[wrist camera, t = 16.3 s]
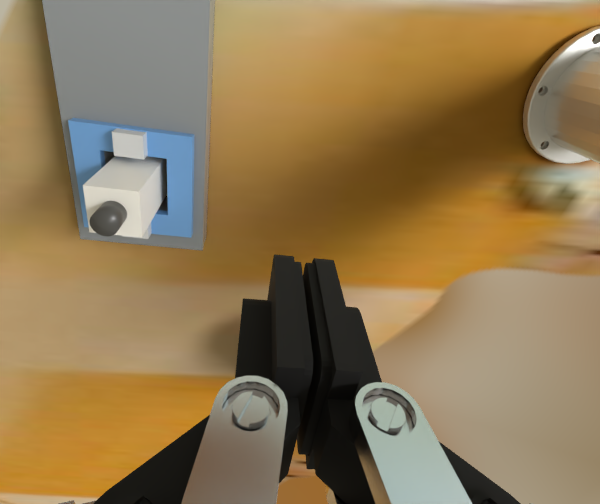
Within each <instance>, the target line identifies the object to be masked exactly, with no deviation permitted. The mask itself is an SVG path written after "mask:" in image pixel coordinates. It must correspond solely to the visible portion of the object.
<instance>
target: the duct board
mask: <svg viewBox="0 0 600 504" xmlns="http://www.w3.org/2000/svg"><path fill="white" fill-rule="evenodd" d="M42 3H43V10H44V16H45V22H46V28H47V34H48V41H49V47H50V53H51V59H52V65H53V72H54V78H55V84H56V90H57V97H58V103H59V109H60V115H61V121H62V128H63V134H64V140H65V146H66V153H67V159H68V165H69V171H70V177H71V184H72V190H73V196H74V202H75V209H76V215H77V221H78V227H79V233H80V239H86V240H97V241H107V242H118V243H128V244H139V245H150V246H160V247H171V248H181V249H192V250H203V247H204V243H205V240H206V234H207V206H208V178H209V150H210V122H211V94H212V66H213V38H214V10H215V0H42ZM115 156H119V157H127V158H135V159H143V160H144V159H145V158H146V157H147V156H149V157H156V158H164V159H167V195H168V198H166V197H165V198H164V200H163V202H162V204H161V205H160V207H159V209H158V211H157V212H156V214H155V216H154V217H153V219H152V221H151V223H150V224H149V226H148V228H147V230H146V231H145V233H144V235H143V237H131V236H121V235H112V236H102V235H99V234H97V233H91V232H89V226H88V219H87V212H86V205H85V198H84V191H83V184H85V183H86V182H87V181H88V180H89V179H90V178H91V177H92V176H93V175H95V174H96V173H97V172H98V171H99V170H100V169H101V168H102V167H104V166H105V165H106V164H107V163H108V162H109V161H110V160H111V159H112V158H114V157H115Z"/></svg>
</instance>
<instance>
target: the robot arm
mask: <svg viewBox="0 0 600 504" xmlns="http://www.w3.org/2000/svg"><path fill="white" fill-rule="evenodd" d="M523 129H524V133H525V136H526V139H527V141H528V143H529V144H530V146H531V148H533V149H534V150H535V151H536V152H537V153H538V154H539V155H541V156H543V157H545V158H546V159H549V160H551V161H554V162H558V163H564V164H569V163H579V162H583V161H587V160H593V161H595V162H597V163H600V26H597V27H593V28H591V29H589V30H586V31H584V32H582V33H580V34H578V35H577V36H575V37H574V38H572V39H571V40H569V41H568V42H566V43H565V44H564V45H563V46H562V47H560V48H559V49H558V50H557V51H556V52H555V53H554V54H553V55H552V56H551V57H550V58H549V60H548V61H547V62H546V63H545V64H544V65H543V67H542V68H541V70H540V71H539V73H538V74H537V76H536V77H535V79H534V81H533V83H532V85H531V87H530V90H529V92H528V95H527V98H526V101H525V105H524V112H523ZM296 439H297V445H298V453H299V454H306V465H307V469H315V473H316V475H317V476H318V477H319V478H320V479H321V480H322V481H323V482H324V483H325V484H326V486H325V489H326V497H327V501H328V504H520V503H519V502H518V501H517V500H516V499H515V498H513V497H512V496H511V495H510V494H509V493H507V492H506V491H504V490H503V489H502V488H501V487H499V486H498V485H497V484H495V483H494V482H493V481H491V480H490V479H489V478H487V477H486V476H485V475H483V474H482V473H480V472H479V471H478V470H476V469H475V468H474V467H472V466H471V465H470V464H468V463H467V462H466V461H464V460H463V459H462V458H460V457H459V456H458V455H456V454H455V453H453V452H452V451H451V450H450V449H448V448H447V447H445V446H444V445H443V444H442V443H440V442H439V441H438V440H437V438H436V436H435V434H434V433H433V431H432V429H431V427H430V425H429V423H428V422H427V420H426V418H425V416H424V414H423V412H422V410H421V409H420V407H419V405H418V404H417V403H416V402H415V400H414V399H413V398H412V397H411V396H410V395H409V394H408V393H407V392H406V391H404V390H402V389H401V388H399V387H397V386H395V385H392V384H388V383H382V381H381V378H380V375H379V371H378V368H377V365H376V362H375V358H374V355H373V352H372V349H371V345H370V342H369V339H368V336H367V332H366V329H365V326H364V323H363V319H362V316H361V313H360V311H359V309H358V308H355V307H346V305H345V301H344V298H343V294H342V290H341V286H340V282H339V279H338V275H337V271H336V267H335V263H334V261H333V260H325V259H315V258H314V259H313V261H312V263H306V264H305V268H304V273H303V275H302V267H301V262H294V257H293V256H284V255H274V258H273V265H272V272H271V279H270V286H269V293H268V300H254V299H243V304H242V314H241V324H240V334H239V344H238V355H237V365H236V375H235V379H233V380H231V381H229V382H228V383H226V384H225V385H224V386H223V387H222V388H221V389H220V391H219V393H218V395H217V396H216V398H215V401H214V404H213V407H212V410H211V413H210V415H209V416H208V417H206V418H205V419H204V420H202V421H201V422H199V423H198V424H197V425H195V426H194V427H193V428H191V429H190V430H189V431H187V432H186V433H185V434H183V435H182V436H181V437H179V438H178V439H176V440H175V441H174V442H172V443H171V444H170V445H168V446H167V447H166V448H164V449H163V450H162V451H160V452H159V453H158V454H156V455H155V456H153V457H152V458H151V459H149V460H148V461H147V462H145V463H144V464H143V465H141V466H140V467H139V468H137V469H136V470H135V471H133V472H132V473H130V474H129V475H128V476H126V477H125V478H124V479H122V480H121V481H120V482H118V483H117V484H116V485H114V486H113V487H112V488H110V489H109V490H107V491H106V492H105V493H104V494H103V495H102V496H101V497H100V498H99V499H98V500H97V501H92V502H88V503H83V504H276V501H277V493H278V485H279V483H280V482H281V481H282V480H283V479H284V478H285V476H286V475H287V474H288V471H289V467H290V463H291V459H292V455H293V451H294V447H295V443H296ZM60 504H75V502H74V500H73V501H69V502H64V503H60ZM530 504H532V503H530Z"/></svg>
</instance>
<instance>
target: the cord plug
mask: <svg viewBox="0 0 600 504" xmlns="http://www.w3.org/2000/svg"><path fill="white" fill-rule="evenodd" d="M83 191H84V198H85V205H86V212H87V219H88V226H89V232H91V233H97V234H99V235H102V236H112V235H121V236H131V237H143V235H144V233H145V231H146V230H147V228H148V226H149V224H150V223H151V221H152V219H153V217H154V216H155V214H156V212H157V211H158V209H159V207H160V205H161V204H162V202H163V200H164V198H165V197H166V195H167V159H164V158H156V157H149V156H147V157H146V158H145V159H144V160H143V159H135V158H127V157H119V156H115V157H114V158H112V159H111V160H110V161H109V162H108V163H107V164H106V165H105V166H104V167H102V168H101V169H100V170H99V171H98V172H97V173H96V174H95V175H93V176H92V177H91V178H90V179H89V180H88V181H87V182H86V183H85V184H83Z"/></svg>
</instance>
